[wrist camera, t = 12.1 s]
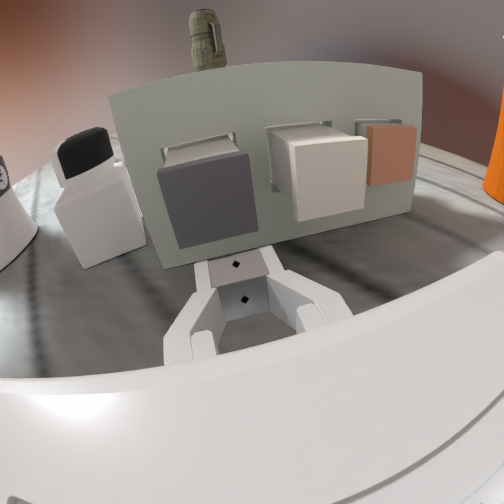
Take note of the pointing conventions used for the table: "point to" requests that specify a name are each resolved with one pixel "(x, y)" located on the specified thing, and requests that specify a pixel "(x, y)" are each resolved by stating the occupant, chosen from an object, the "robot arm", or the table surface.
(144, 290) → the table surface
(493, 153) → the spray bottle
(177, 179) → the button charcoal
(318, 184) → the button cream
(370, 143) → the button terracotta
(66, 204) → the medicine bottle
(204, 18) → the green thermos flask
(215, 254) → the panel
